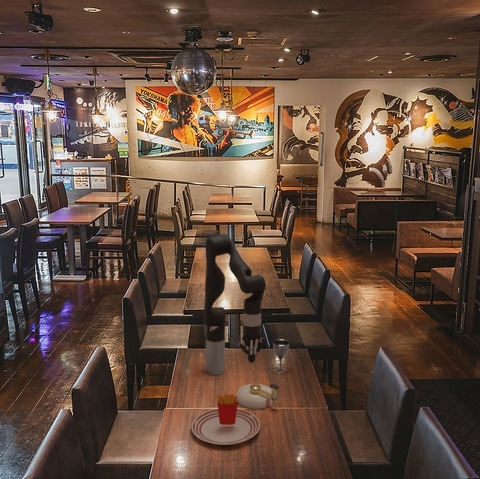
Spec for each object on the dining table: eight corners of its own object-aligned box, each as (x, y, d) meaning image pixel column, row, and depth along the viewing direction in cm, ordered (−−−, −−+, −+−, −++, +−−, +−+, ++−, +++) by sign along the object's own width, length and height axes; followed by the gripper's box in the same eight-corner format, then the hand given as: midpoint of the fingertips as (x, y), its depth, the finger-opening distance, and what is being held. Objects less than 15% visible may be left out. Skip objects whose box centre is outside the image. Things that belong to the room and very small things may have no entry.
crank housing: (230, 399, 241) (230, 390, 240) (256, 388, 251) (256, 380, 250) (254, 413, 228) (254, 404, 228) (281, 401, 239) (281, 393, 238)
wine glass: (269, 368, 273) (270, 340, 270) (283, 366, 276) (284, 338, 273) (277, 374, 266) (278, 346, 263) (291, 372, 269) (292, 343, 266)
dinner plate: (198, 455, 198) (198, 447, 198) (186, 418, 224) (186, 411, 224) (269, 445, 206) (269, 437, 205) (248, 410, 232) (249, 403, 231)
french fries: (237, 419, 217) (237, 392, 215) (237, 425, 214) (237, 397, 211) (216, 419, 217) (216, 392, 215) (216, 425, 213) (216, 397, 211)
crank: (247, 391, 239) (247, 377, 238) (254, 387, 242) (255, 374, 241) (273, 403, 228) (274, 388, 227) (281, 399, 232) (281, 385, 231)
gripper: (261, 317, 228) (260, 356, 231) (233, 322, 221) (233, 361, 225) (270, 323, 221) (269, 362, 224) (242, 328, 215) (242, 368, 218)
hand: (251, 362), depth 225 cm, fingers closed
